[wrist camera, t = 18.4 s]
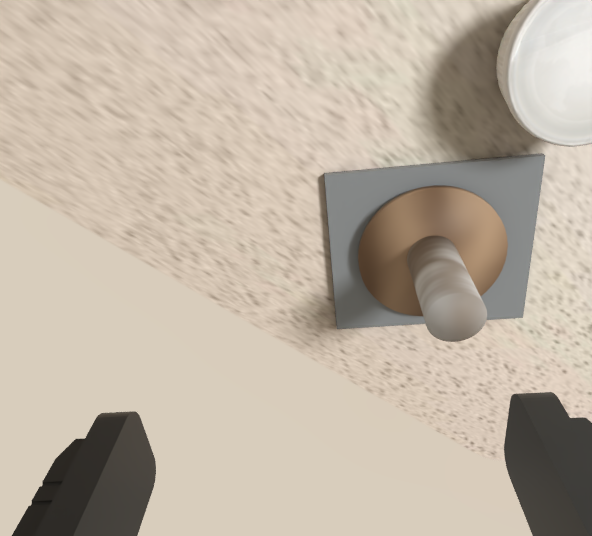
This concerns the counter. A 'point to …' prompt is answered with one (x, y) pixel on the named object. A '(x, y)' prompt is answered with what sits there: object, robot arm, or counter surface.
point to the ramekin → (549, 70)
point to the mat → (397, 180)
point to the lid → (435, 257)
